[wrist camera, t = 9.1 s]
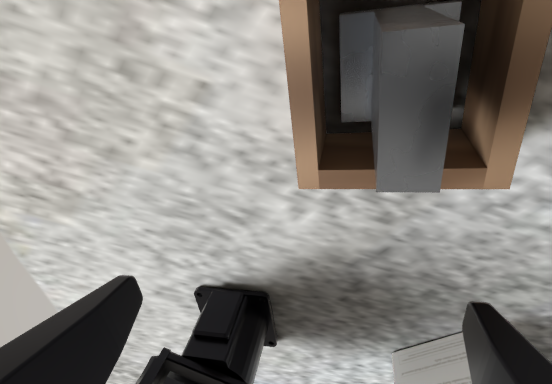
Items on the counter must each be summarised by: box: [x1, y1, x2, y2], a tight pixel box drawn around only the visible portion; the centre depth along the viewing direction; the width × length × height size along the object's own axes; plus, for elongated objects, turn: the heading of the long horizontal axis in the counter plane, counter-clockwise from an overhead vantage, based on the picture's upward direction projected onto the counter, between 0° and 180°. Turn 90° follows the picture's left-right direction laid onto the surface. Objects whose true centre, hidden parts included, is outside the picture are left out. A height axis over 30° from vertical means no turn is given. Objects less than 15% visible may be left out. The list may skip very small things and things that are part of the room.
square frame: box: [279, 0, 552, 189], centre depth 15 cm, size 9×9×4 cm
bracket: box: [339, 0, 465, 192], centre depth 14 cm, size 5×5×8 cm
